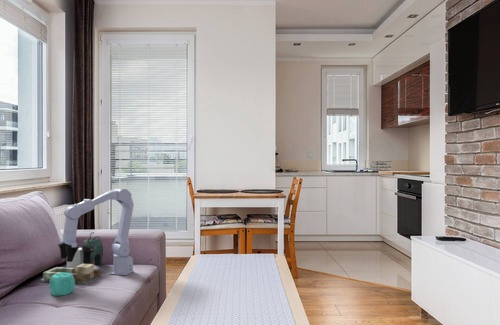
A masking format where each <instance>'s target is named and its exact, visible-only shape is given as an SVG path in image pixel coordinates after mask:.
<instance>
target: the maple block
mask: <svg viewBox="0 0 500 325" xmlns="http://www.w3.org/2000/svg"><path fill="white" fill-rule="evenodd" d="M94 269H95V263H93V264H81V265H79V266H76V274H90V278H92V277H93V276H94Z"/></svg>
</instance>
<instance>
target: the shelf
mask: <svg viewBox="0 0 500 325" xmlns="http://www.w3.org/2000/svg"><path fill="white" fill-rule="evenodd" d="M100 272H101V270H100V269H97V268H96V269H95V268H94V276H93V277H92V278H90V274H76V268H67V267H62V266H60V267H59V266H56V267H53V268H50V269H48V270H45V271H43V272H42V278H41V279H40V282H42V283H50V279H51V277H52V276H53V275H55V274H58V273H71V274H72V275H73V277H74V281H75V285H89V284H91V283H92V282H94V281H96V280H98V279H99V278H101V277H102V274H101V273H100Z"/></svg>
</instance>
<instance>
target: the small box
mask: <svg viewBox="0 0 500 325" xmlns="http://www.w3.org/2000/svg"><path fill="white" fill-rule="evenodd" d="M81 264H83V250H82V247H79V249H78V250H77V252H76V253H75V256H74V258H73V261H72V262H67V261H66V268H76V266H79V265H81Z"/></svg>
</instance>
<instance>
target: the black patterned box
mask: <svg viewBox="0 0 500 325" xmlns="http://www.w3.org/2000/svg"><path fill="white" fill-rule="evenodd" d="M92 234H93V235H94V234H95V232H91V233H90V235H89V238H88V239H84V240H83V241H82V245H81V246H82V247H81V248H82V250H83V264H94V266H101V265H102V264H103V256H104V246H103V243H102V240H101V239H100V236H95V237H93V238H92V237H91V235H92Z"/></svg>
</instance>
